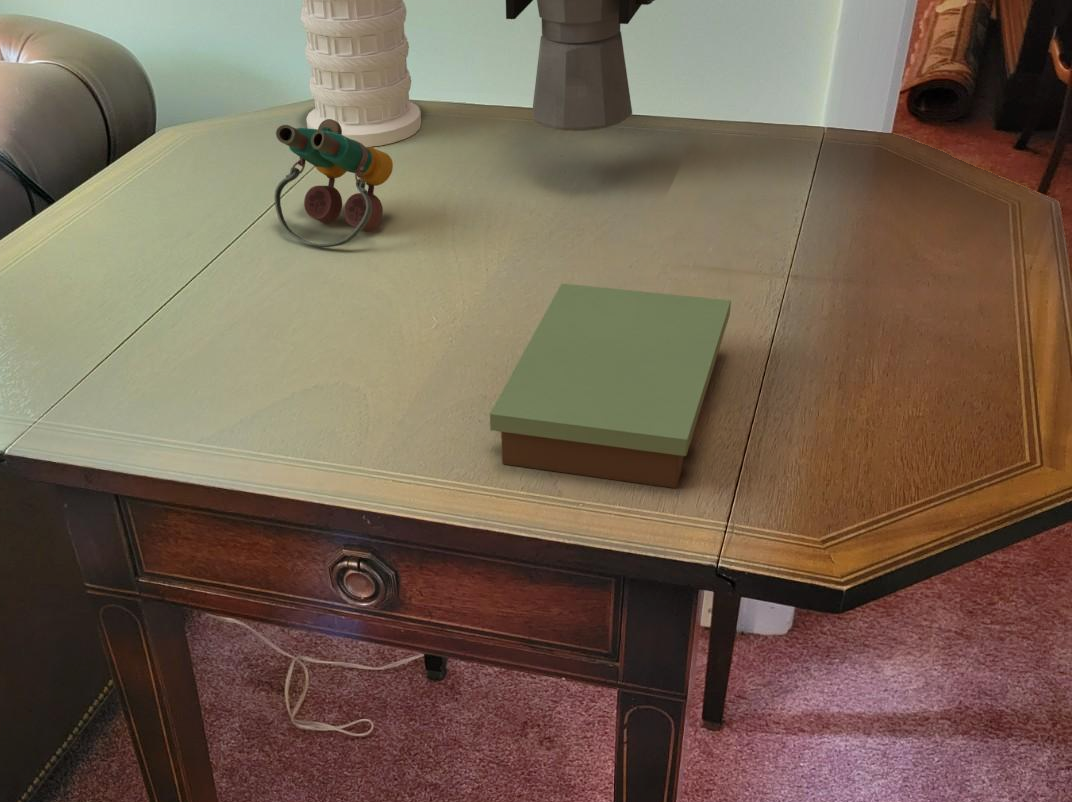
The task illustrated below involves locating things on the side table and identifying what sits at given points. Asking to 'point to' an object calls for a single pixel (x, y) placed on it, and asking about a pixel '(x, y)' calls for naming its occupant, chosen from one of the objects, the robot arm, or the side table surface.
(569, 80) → the coffeepot
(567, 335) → the box with lid
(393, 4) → the decorative container
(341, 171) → the binoculars
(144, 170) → the side table surface
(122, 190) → the side table surface
